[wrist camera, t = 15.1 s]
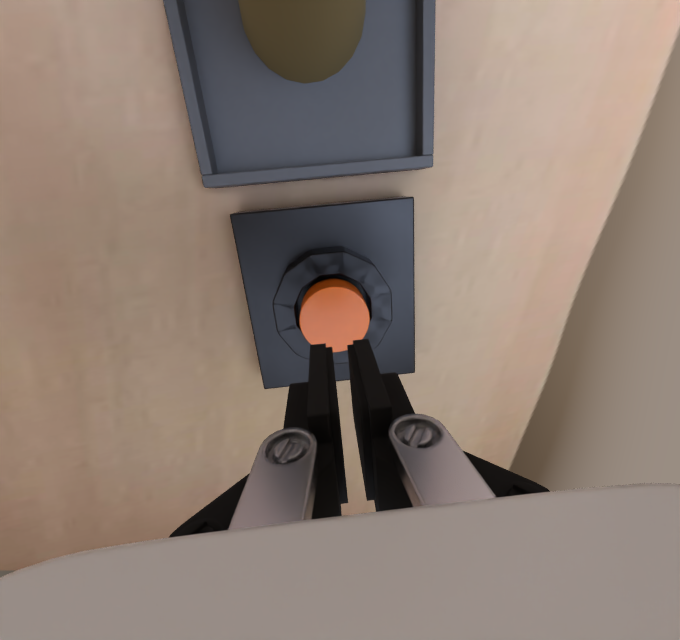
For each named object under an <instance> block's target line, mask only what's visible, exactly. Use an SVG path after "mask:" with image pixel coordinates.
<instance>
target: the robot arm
mask: <svg viewBox="0 0 680 640" xmlns="http://www.w3.org/2000/svg"><path fill="white" fill-rule="evenodd" d="M347 349H348V361H349V372H350V384H351V395H352V407H353V416H354V423H355V429H356V436H357V442H358V448H359V454H360V460H361V467H362V473H363V479H364V485H365V491H366V497H367V501H368V500H374V502H375V507H376V512H370V513H361V514H353V515H345V516H341V504H343V503H348V498H347V488H346V478H345V468H344V457H343V447H342V437H341V427H340V417H339V407H338V398H337V389H336V379H335V370H334V360H333V351H332V347H326V343H324V344H314V345H310V358H309V379H308V382H301V383H292V384H290V386H289V393H288V400H287V407H286V414H285V421H284V428H283V429H282V430H279V431H276V432H274V433H273V434H271V435H269V436H268V437H267V438H266V439H265V440H264V441H263V443H262V444H261V446H260V448H259V450H258V453H257V456H256V458H255V461H254V463H253V466H252V469H251V471H250V473H249V474H248V475H247V476H245V477H244V478H243V479H241V480H240V481H239V482H237V483H236V484H235V485H233V486H232V487H231V488H229V489H228V490H227V491H226V492H224V493H223V494H222V495H220V496H219V497H218V498H216V499H215V500H214V501H212V502H211V503H210V504H208V505H207V506H206V507H204V508H203V509H202V510H200V511H199V512H198V513H196V514H195V515H194V516H193V517H191V518H190V519H189V520H187V521H186V522H185V523H183V524H182V525H181V526H180V527H179V528H177V529H176V530H175V531H174V532H173V533H172V534H171V535H170V537H169V538H163V539H155V540H147V541H141V542H135V543H129V544H123V545H117V546H111V547H105V548H99V549H93V550H86V551H82V552H78V553H73V554H69V555H65V556H61V557H57V558H53V559H50V560H47V561H44V562H40V563H37V564H34V565H31V566H28V567H25V568H22V569H19V570H17V571H15V572H12V573H10V574H8V575H5V576H3V577H0V640H680V484H629V485H616V486H602V487H589V488H579V489H571V490H561V491H552V492H550V491H549V490H548V489H547V488H545V487H543V486H541V485H539V484H537V483H535V482H533V481H531V480H529V479H526V478H524V477H522V476H519V475H517V474H515V473H513V472H510V471H508V470H506V469H504V468H501V467H499V466H497V465H494V464H492V463H490V462H488V461H485V460H483V459H481V458H478V457H476V456H474V455H472V454H469V453H467V452H465V451H462V449H461V448H460V447H459V445H458V444H457V443H456V441H455V440H454V439H453V437H452V436H451V434H450V433H449V432H448V430H447V429H446V428H445V426H444V425H443V424H442V423H441V422H440V421H438V420H436V419H435V418H433V417H430V416H427V415H423V414H415V413H414V410H413V408H412V406H411V404H410V401H409V399H408V397H407V394H406V392H405V390H404V388H403V385H402V383H401V381H400V379H399V376H398V374H397V373H396V372H393V373H384V374H381V373H380V370H379V368H378V365H377V362H376V359H375V356H374V353H373V350H372V348H371V345H370V342H369V339H361V340H353V345H347Z"/></svg>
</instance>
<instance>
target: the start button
mask: <svg viewBox="0 0 680 640" xmlns="http://www.w3.org/2000/svg"><path fill="white" fill-rule="evenodd" d="M299 322H300V328H301V331H302V333H303V335H304V337H305V338H306V340H307V341H308V342H309V343H310V344H311V345H314V344H324V343H326V347H332V351H333V352H341V351H345V350H348V349H347V345H353V340H361V339H363V337H364V336H365V334H366V332H367V330H368V327H369V322H370V316H369V311H368V308H367V305H366V303H365V301H364V298H363V296H362V294H361V293H360V291H359V290H358V289H357V288H356V287H355V286H354V285H353V284H351V283H349V282H348V281H345V280H342V279H335V278H334V279H325V280H322V281H320V282H318V283H316V284H314V285H313V286H312V287H311V288H310V289H309V290H308V291H307V292H306V294H305V295H304V297H303V300H302V304H301V310H300V318H299Z"/></svg>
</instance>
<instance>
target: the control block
mask: <svg viewBox="0 0 680 640" xmlns="http://www.w3.org/2000/svg"><path fill="white" fill-rule="evenodd" d="M230 218H231V223H232V228H233V233H234V238H235V243H236V248H237V253H238V258H239V263H240V268H241V274H242V279H243V284H244V289H245V294H246V299H247V304H248V309H249V314H250V319H251V324H252V329H253V334H254V339H255V344H256V349H257V355H258V360H259V365H260V370H261V375H262V380H263V385H264V389H270V388H279V387H288V386H290V384H292V383H301V382H308V379H309V358H310V345H311V344H310V343H309V342H308V341H307V340H306V338H305V337H304V335H303V333H302V331H301V328H300V322H299V318H300V310H301V304H302V300H303V297H304V295H305V294H306V292H307V291H308V290H309V289H310V288H311V287H312V286H313V285H314V284H316V283H318V282H320V281H322V280H325V279H334V278H335V279H342V280H345V281H348V282H349V283H351V284H353V285H354V286H355V287H356V288H357V289H358V290H359V291H360V293H361V294H362V296H363V298H364V301H365V303H366V305H367V308H368V311H369V316H370V322H369V327H368V330H367V332H366V334H365V336H364V337H363V339H369V342H370V345H371V348H372V350H373V353H374V356H375V359H376V362H377V365H378V368H379V370H380V373H381V374H384V373H393V372H396V373H397V374H407V373H414V372H415V307H414V197H406V196H402V197H391V198H381V199H370V200H359V201H349V202H338V203H327V204H317V205H306V206H295V207H285V208H274V209H263V210H253V211H242V212H237V213H233V214H230ZM333 360H334V370H335V379H336V381H343V380H350V372H349V361H348V350H345V351H341V352H333Z"/></svg>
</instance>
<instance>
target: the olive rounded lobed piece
mask: <svg viewBox="0 0 680 640" xmlns="http://www.w3.org/2000/svg"><path fill="white" fill-rule="evenodd" d="M238 2H239V8H240V13H241V18H242V23H243V28H244V31H245V33H246V35H247V38H248V40H249V42H250V44H251V46H252V48H253V50H254V52H255V53H256V54H257V56H258V57H259V58H260V59H261V60H262V61H263V62H264V64H265V65H266V66H267V67H268V68H269V69H270V70H272V71H273V72H275V73H277V74H278V75H280V76H281V77H283V78H285V79H286V80H291V81H295V82H300V83H304V84H305V83H312V82H319V81H323V80H325V79H327V78H329V77H331V76H332V75H334V74H336V73H338V72H339V71H340V70H341V69H342V68H343V67H344V66H345V64H346V63H347V62H348V61H349V60H350V59H351V58H352V56H353V54H354V52H355V50H356V48H357V46H358V43H359V41H360V39H361V37H362V32H363V25H364V19H365V13H366V0H238Z"/></svg>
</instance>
